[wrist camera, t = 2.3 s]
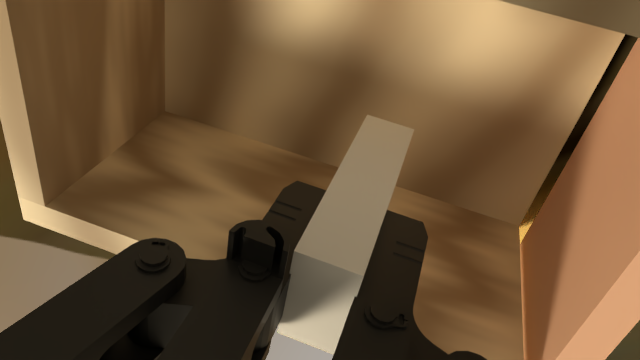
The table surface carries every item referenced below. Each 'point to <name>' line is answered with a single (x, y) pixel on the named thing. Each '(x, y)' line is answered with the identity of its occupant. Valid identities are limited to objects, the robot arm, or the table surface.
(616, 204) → the tailgate
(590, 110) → the table surface
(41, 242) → the table surface
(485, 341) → the box
